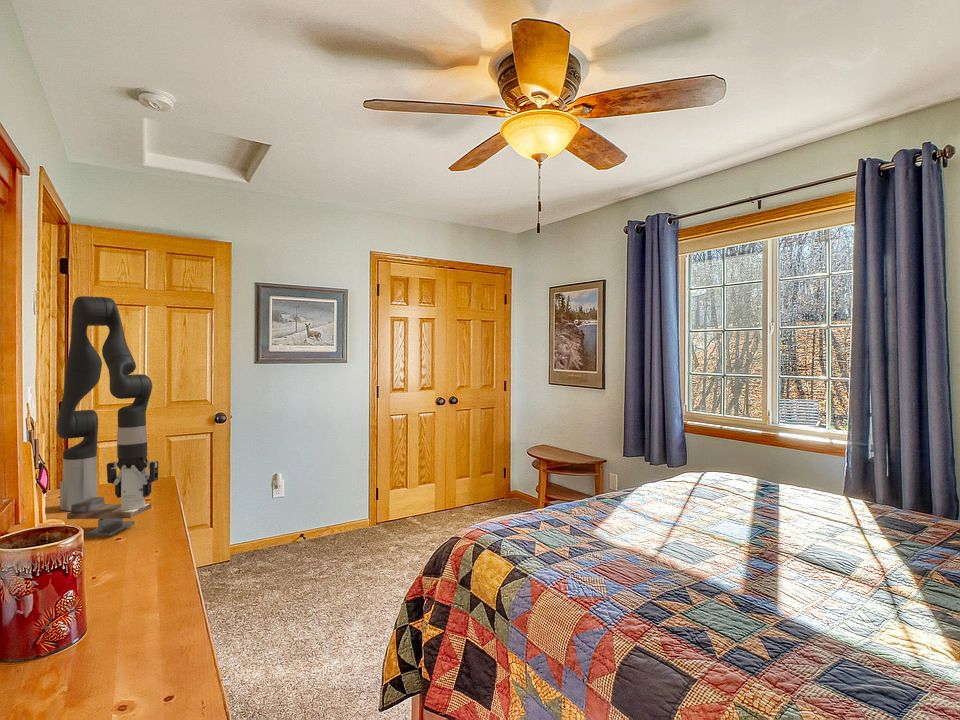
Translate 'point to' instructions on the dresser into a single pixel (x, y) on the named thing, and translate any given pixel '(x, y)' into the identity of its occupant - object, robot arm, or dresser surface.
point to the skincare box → (131, 490)
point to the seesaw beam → (102, 510)
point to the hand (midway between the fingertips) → (133, 496)
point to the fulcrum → (109, 527)
